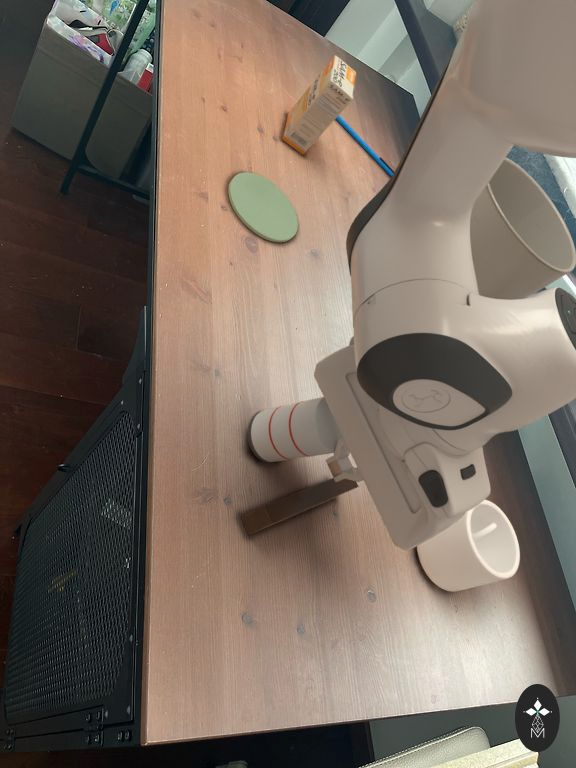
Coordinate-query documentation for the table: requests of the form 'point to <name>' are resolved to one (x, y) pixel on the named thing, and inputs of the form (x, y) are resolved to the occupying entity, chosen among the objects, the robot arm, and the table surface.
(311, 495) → the rail
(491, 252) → the planter
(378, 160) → the pen
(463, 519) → the mug
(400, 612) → the table surface
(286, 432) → the white striped cylinder
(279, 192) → the coaster
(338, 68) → the supplement box
